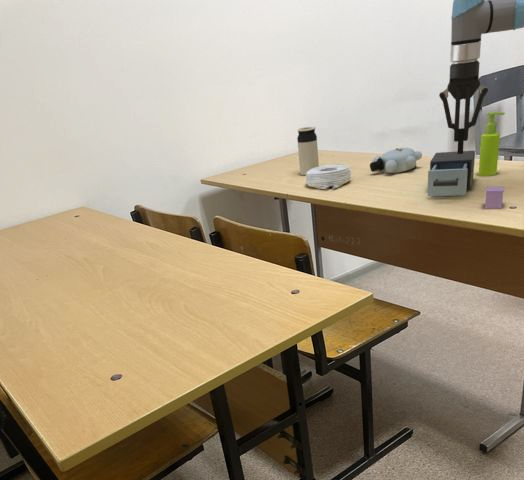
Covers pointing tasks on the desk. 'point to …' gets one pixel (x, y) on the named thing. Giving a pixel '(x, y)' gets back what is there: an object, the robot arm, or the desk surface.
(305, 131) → the travel mug
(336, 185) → the cable
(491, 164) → the soap dispenser
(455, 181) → the drawer
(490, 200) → the purple block
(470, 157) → the small drawer cabinet
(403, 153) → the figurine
